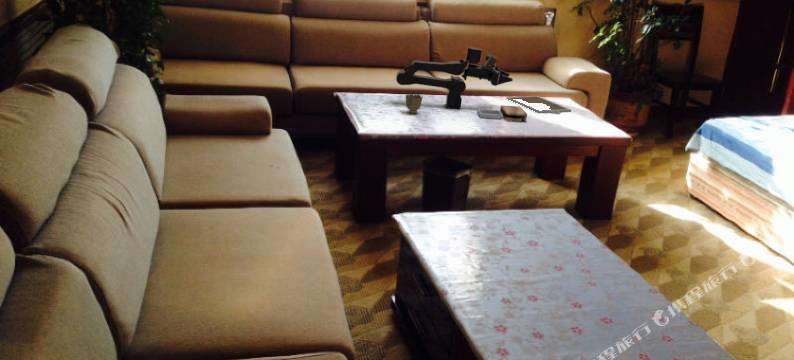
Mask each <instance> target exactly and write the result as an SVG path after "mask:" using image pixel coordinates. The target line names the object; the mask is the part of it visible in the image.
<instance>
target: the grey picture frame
mask: <svg viewBox="0 0 794 360" xmlns="http://www.w3.org/2000/svg"><path fill="white" fill-rule="evenodd" d="M505 99H506V100H507V99H508V100H507V101H509V100H511V101H513V102H512V103H514V102H515V103H514V104H516V103H518V104H520V105H522V106H521V107H523V106H524V107H523V108H525V107H526V109H527V108H529V109H531V110H530V111H532V110H533V111H532V112H534V111H535V112H534V113H536V112H537V114H538V113H543V114H553V115H561V113H571V112H572V109H571V108H568V107H565V106H563V105H560V104H558V103H555V102H553V101H551V100H549V99H546V98H544V97H541V96H539V95H527V96H525V95H524V96H506V98H505ZM513 99H522V100H523V101H526V102H528V103H543V104H546V105H547V106H550V108H549V109H551V110H542V111H539V110H536V109H534V108H532V107H530V106H527V105H525V104H523V103H520V102H518V101H516V100H513ZM511 101H510V102H511ZM518 104H517V105H518ZM520 105H519V106H520ZM529 109H528V110H529Z"/></svg>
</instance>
